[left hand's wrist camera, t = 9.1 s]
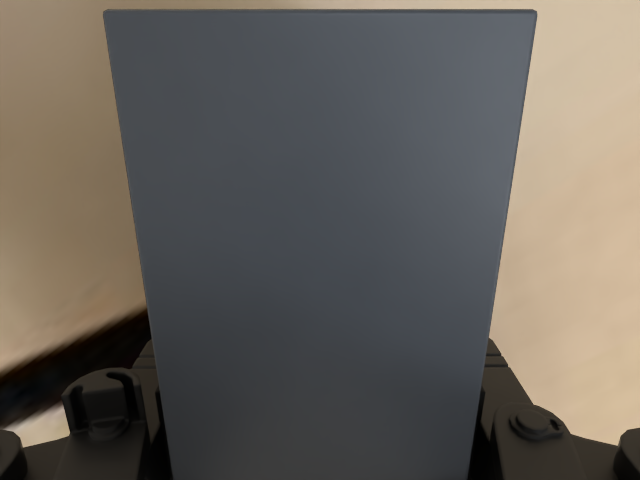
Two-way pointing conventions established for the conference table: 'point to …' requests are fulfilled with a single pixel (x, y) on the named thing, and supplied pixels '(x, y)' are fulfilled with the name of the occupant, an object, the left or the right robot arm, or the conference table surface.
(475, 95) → the bar
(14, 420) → the conference table surface
